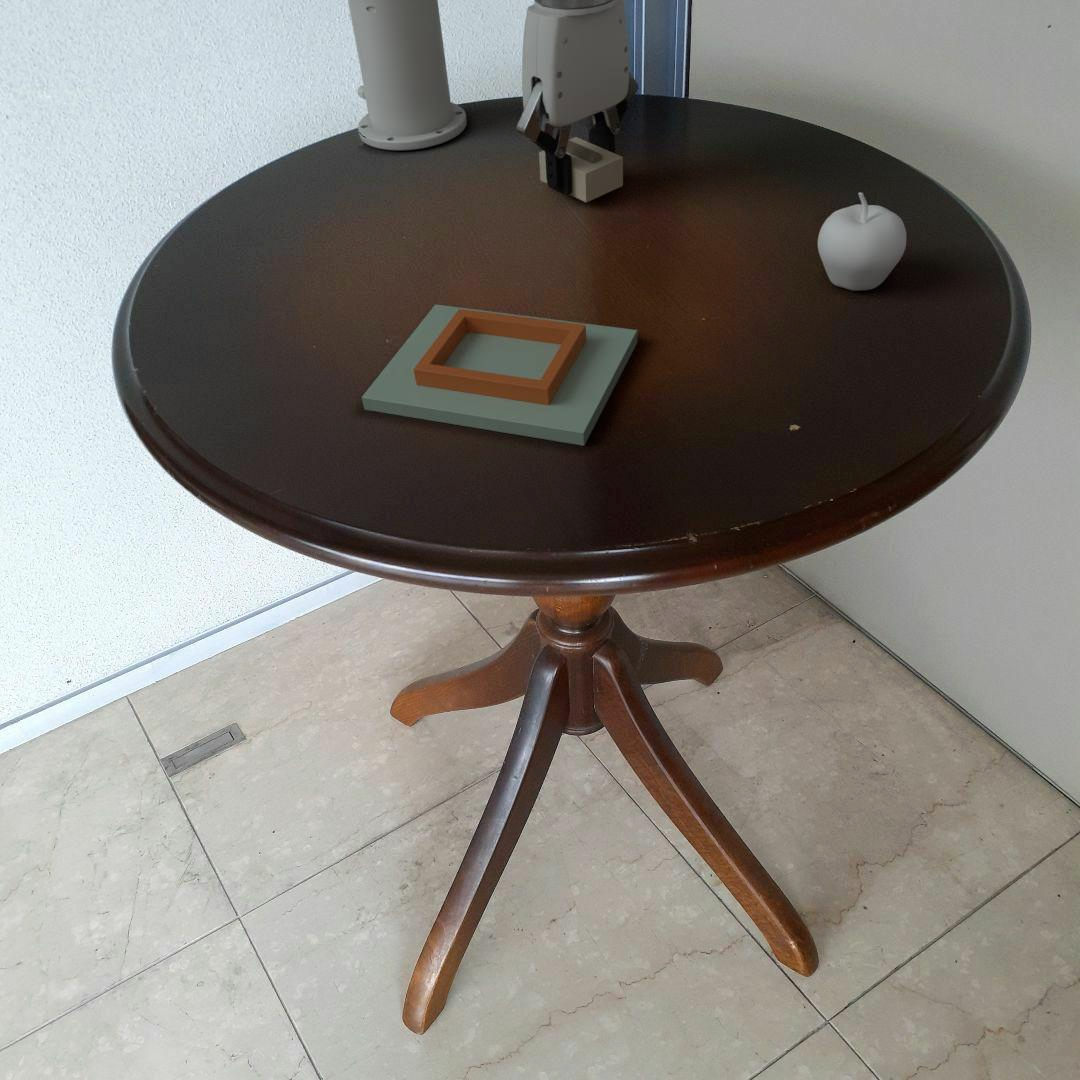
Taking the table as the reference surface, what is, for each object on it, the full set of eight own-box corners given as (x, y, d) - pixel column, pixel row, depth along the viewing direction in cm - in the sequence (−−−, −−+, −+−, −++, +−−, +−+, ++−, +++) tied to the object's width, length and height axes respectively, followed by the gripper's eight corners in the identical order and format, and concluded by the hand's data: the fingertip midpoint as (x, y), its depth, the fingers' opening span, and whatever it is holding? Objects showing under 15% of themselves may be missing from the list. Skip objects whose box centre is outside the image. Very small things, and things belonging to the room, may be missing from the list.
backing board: (364, 409, 80) (357, 381, 78) (437, 316, 89) (432, 288, 87) (584, 446, 74) (582, 416, 73) (637, 342, 84) (637, 313, 82)
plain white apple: (804, 264, 91) (814, 177, 85) (885, 257, 91) (900, 169, 85) (823, 306, 86) (835, 215, 80) (909, 298, 86) (926, 207, 80)
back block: (540, 180, 105) (538, 146, 102) (576, 164, 107) (575, 130, 104) (586, 202, 101) (585, 167, 98) (623, 185, 103) (623, 150, 100)
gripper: (616, -47, 97) (617, 143, 109) (473, 0, 89) (492, 197, 102) (674, -31, 92) (667, 164, 105) (528, 19, 85) (540, 222, 98)
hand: (581, 179), depth 103 cm, fingers closed on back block, 5 cm apart
